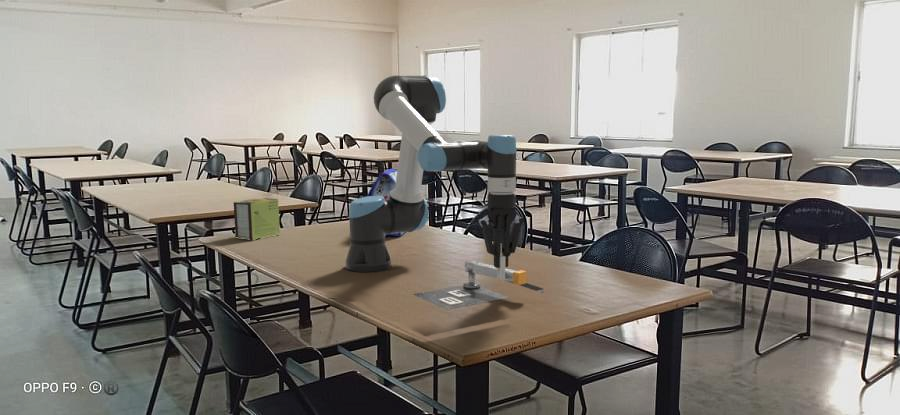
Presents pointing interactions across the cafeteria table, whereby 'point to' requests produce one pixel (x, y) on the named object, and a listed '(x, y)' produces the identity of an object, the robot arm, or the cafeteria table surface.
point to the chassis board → (470, 287)
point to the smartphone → (531, 287)
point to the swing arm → (491, 271)
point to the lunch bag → (385, 187)
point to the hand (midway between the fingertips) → (500, 279)
